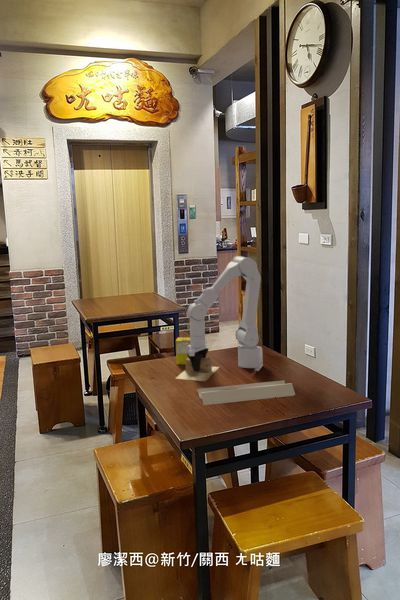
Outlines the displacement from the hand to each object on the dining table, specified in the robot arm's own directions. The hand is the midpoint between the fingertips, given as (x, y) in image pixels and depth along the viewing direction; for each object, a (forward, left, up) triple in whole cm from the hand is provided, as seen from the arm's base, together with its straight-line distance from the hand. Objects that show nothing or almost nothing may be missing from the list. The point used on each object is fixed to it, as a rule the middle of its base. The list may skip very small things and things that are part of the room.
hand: (198, 369), depth 189 cm
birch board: (0, +1, -2) cm, 2 cm away
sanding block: (0, 0, -1) cm, 1 cm away
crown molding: (-23, +16, -3) cm, 28 cm away
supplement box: (+10, -10, -2) cm, 15 cm away
